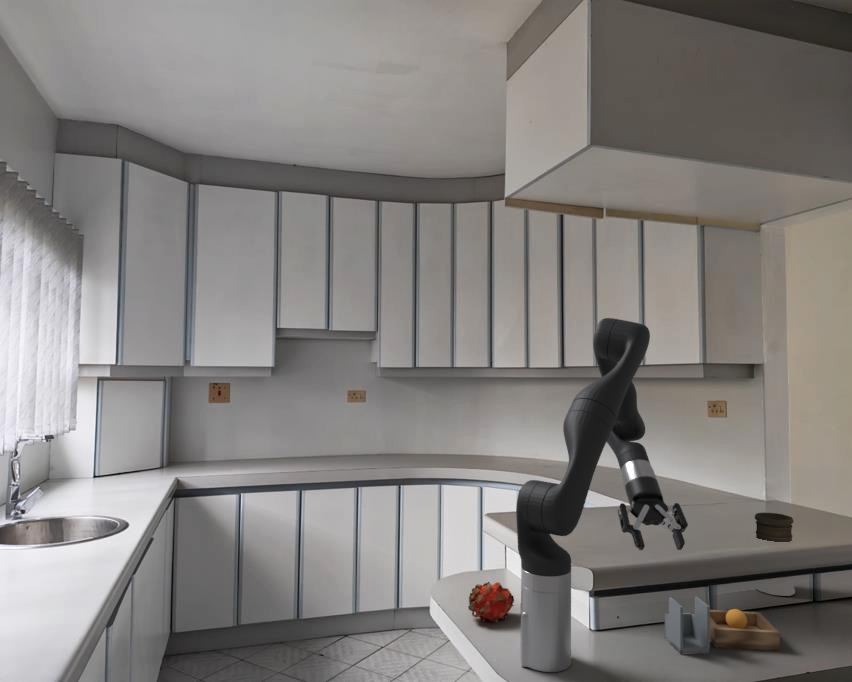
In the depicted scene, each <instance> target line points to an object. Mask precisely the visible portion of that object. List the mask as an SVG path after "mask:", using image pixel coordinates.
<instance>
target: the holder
mask: <svg viewBox="0 0 852 682" xmlns="http://www.w3.org/2000/svg"><path fill="white" fill-rule="evenodd" d="M710 608H711V607H710V605H708V603H706V602H705V601H703V600H702V599H701V598H700V597H698V596H694V613H693V612H684V607H683V606H682V605H681V604H680V603H678V601H676V600H675V599H674V598H672V596H670V597H668V613H667V612H665V613H664V639H665V640H666V639H667V640H668V641H669V642H668V641H667V640H666V641H667V642H668V643H669V644H670V646H672V647H673V648H674V650H676V652H677V651H678V652H679V653H680V655H684V654H683V653H694V654H693V655H696V654H695V653H704V654H703V655H706V654H705V653H711V652H710V650H711V646H710V645H711V643H710V642H711V641H710V610H711V609H710ZM678 652H677V653H678Z"/></svg>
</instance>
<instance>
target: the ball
mask: <svg viewBox="0 0 852 682" xmlns="http://www.w3.org/2000/svg"><path fill="white" fill-rule="evenodd" d="M727 611H728V612H727V614H726V622H727V624H728V625H729V626H730V627H731V628H738V629H744V628H745V627H746V625H747V618H746V616H745V614H744V613H743V612H742V610H740V609H738V608H732V609H729V610H727Z"/></svg>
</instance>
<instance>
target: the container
mask: <svg viewBox="0 0 852 682" xmlns="http://www.w3.org/2000/svg"><path fill="white" fill-rule="evenodd" d="M754 519H755V524H756V529H755V530H756V531H755V533H756V534H755V537H756V538H758V539H762V540H767V541H774V542H790V541H792V542H793V534H792V529H793V523H794V518H793V517H792V516H789V515H787V514H783V513H777V512H776V513H775V512H757V513H755V514H754Z"/></svg>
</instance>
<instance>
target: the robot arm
mask: <svg viewBox="0 0 852 682" xmlns="http://www.w3.org/2000/svg"><path fill="white" fill-rule="evenodd" d="M650 337H651V332H650V329H649V327H647V326H646V325H645V324H643V323H639V322H635V321H634V322H633V321H629V320H623V319H619V318H612V317H604V318H602V319H601V320H599V322H598V324H597V325H596V328H595V330H594V333H593V338H592V339H593V340H592V343H593V344H592V349H593V353H594V357H595V360H596V363H597V367H598V369H599V373H600V376H601V377H600V378H598V379H597V380H595V381H593V382H592V383H590V384H588V385H586V386H585V387H584V388H582V389H581V390H580V391H578V393H577V394H576V395H575V397H574V398H573V400H572V403H571V405H570V407H569V409H568V411H567V413H566V415H565V418H564V420H563V428H562V430H563V431H562V432H563V437H564V441H565V445H566V449H567V455H568V465H567V468H566V471H565V475H564V477H563V479H562V480H561V481H560V483H556V482H555V483H554V482H550V481H549V482H548V481H544V480H537V479H536V480H535V479H532V480H528V481H526V482H524V483H523V485H522V486H521V488H520V490H519V492H518V495H517V497H516V498H517V499H516V500H517V501H516V509H515V510H516V512H515V515H516V533H517V534H516V535H517V536H516V537H517V550H518V555H519V557H520V561H521V563H520V565H521V568H520V571H521V572H520V573H521V577H520V578H521V579H520V580H521V581H520V590H521V591H520V595H521V596H520V633H519V634H520V636H519V637H520V644H519V645H520V646H519V647H520V648H519V649H520V665H521V667H523V668H524V667H527V668H529V669H532V670H534V671H538V672H544V673H556V672H562V671H564V670H567V669H569V668H570V666H571V663H572V558H571V555H570V553H569V552H568V551H567V550H566V549H565V548H563V547H562V546H561V545H559V544H558V543H557V542H556V541H555V540H554V539H553V537H552V536H551V535H553V536H559V537H566V536H569V535H571V534H572V533H573V532H574V530H575V528H577V526H578V524H579V521H580V519H581V516H582V514H583V510H584V507H585V504H586V501H587V496H588V493H589V491H590V487H591V485H592V482H593V481H592V480H593V477H594V474H595V471H596V469H597V465H598V463H599V461H600V458H601V456H602V453H603V450H604V448H605V446H606V444H607V445H608V446H609V447H610V449H611V450H612V452H613V453H614V455H615V457H616V459H617V463H618V466H619V469H620V473H621V480H622V485H623V486H624V490H625V493H626V497H627V501H628V503H629V505H626V504H625V503H622V502H621V503H620V505H619V506H618V509H617V515H618V520H619V525H620V528H621V532H622V533H629V534H630V535H631V536H632V539H633V543H634V546H635V548H638V551H643V550H644V549H645V546H646V545H645V542H644V538H643V535H642V531H641V530H639V529H640V527H641V525H642V524H643V525H644V526H651V525H654V526H661V527H663V529H667V530H668V531H669V532H670V533H671V535H672V539H673V541H674V544H675V547H676V550H677V551H681V550H682V549H683V548H684V546H685V544H686V541H685V538H684V536H683V533H685V531H686V529H687V527H688V526H689V524H688V521H687V518H686V517H685V514H684V512H683V509H682V507H681V505H680V503H678V502H675V503H674V504H673V505H671V504H670V505H667V503H666V502H665V500H664V496H663V493H662V490H661V488H660V485H659V482H658V479H657V477H656V472H655V469H653V467H652V465H651V462H650V460H649V459H650V458H649V456H648V453H647V450H646V448H645V446H644V445H643V444H642V443H640V442H636V441H639V440H641V439H642V438H643V437H644V436H645V434H646V426H645V422H644V420H643V418H642V416H641V414H640V413H639V409H638V400H637V399H638V395H637V393H638V392H637V389H636V386H635V384H634V382H633V379H634V377H635V376H636V374H637V371H638V370H639V367H640V366H641V364H642V362H643V360H644V357H645V355H646V353H647V351H648V348H649V344H650V339H651V338H650ZM668 512H669V513H668ZM629 514H631V515H632V516H634V518H636V520H635V522H634V524H633V525H632V524H631V523H630V519H629ZM665 520H666V521H665Z"/></svg>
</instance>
